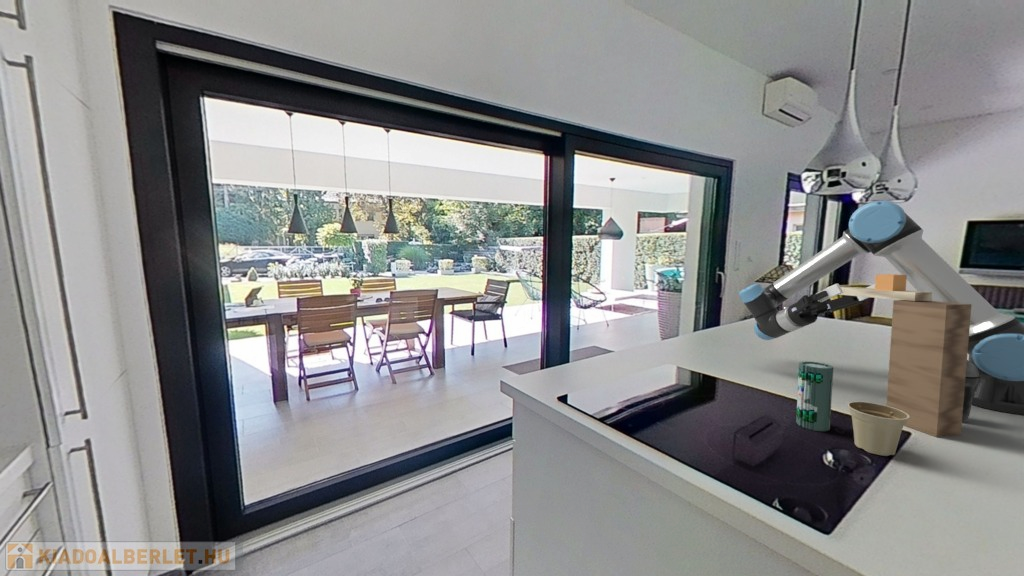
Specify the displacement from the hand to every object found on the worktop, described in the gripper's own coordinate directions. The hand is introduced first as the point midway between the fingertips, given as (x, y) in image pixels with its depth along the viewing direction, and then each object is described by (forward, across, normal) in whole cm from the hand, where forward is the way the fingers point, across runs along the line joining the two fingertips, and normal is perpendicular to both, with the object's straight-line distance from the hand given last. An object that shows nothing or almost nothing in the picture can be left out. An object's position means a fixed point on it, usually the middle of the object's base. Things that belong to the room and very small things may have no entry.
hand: (860, 287), depth 103 cm
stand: (-3, 0, +36) cm, 36 cm away
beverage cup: (-5, +13, +35) cm, 38 cm away
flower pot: (+3, -23, +40) cm, 46 cm away
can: (-7, -25, +34) cm, 42 cm away
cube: (+6, 0, +4) cm, 7 cm away
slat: (+2, 0, +4) cm, 4 cm away
